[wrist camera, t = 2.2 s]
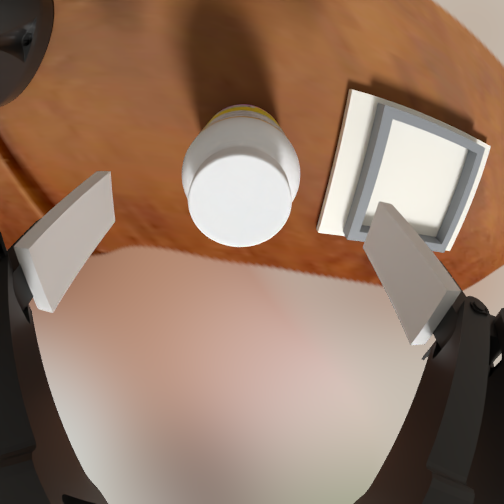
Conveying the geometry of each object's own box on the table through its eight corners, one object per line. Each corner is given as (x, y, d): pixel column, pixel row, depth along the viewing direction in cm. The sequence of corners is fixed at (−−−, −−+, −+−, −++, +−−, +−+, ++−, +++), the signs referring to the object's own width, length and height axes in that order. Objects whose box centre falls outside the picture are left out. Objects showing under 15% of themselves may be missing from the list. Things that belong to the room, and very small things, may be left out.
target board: (316, 228, 28) (321, 241, 26) (349, 88, 20) (358, 90, 18) (446, 247, 30) (455, 258, 28) (486, 144, 22) (499, 150, 20)
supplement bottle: (250, 189, 26) (252, 285, 15) (189, 149, 23) (141, 220, 13) (298, 134, 23) (342, 193, 12) (235, 87, 20) (220, 100, 10)
